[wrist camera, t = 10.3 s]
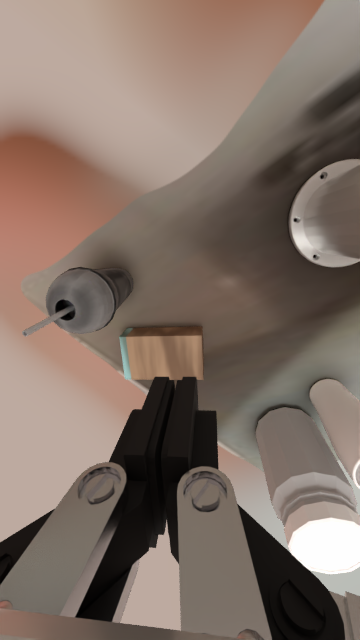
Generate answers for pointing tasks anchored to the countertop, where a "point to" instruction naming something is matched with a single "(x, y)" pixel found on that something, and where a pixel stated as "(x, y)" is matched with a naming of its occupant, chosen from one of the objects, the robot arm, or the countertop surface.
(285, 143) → the countertop surface
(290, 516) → the jar
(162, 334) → the wooden block
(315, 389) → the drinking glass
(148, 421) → the robot arm
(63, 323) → the beverage cup
